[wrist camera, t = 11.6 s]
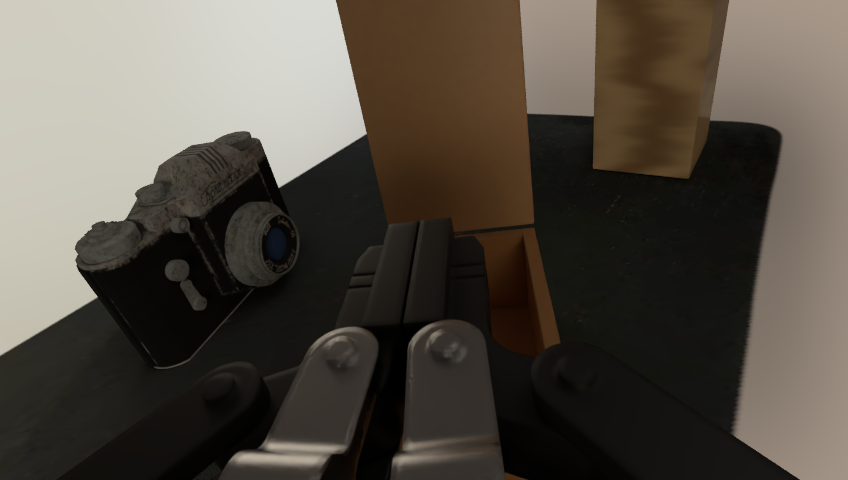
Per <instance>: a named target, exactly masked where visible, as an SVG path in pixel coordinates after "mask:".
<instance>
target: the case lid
mask: <svg viewBox="0 0 848 480" xmlns="http://www.w3.org/2000/svg"><path fill="white" fill-rule="evenodd" d="M336 2H337V7H338V11H339V15H340V19H341V24H342V28H343V32H344V36H345V41H346V45H347V49H348V54H349V58H350V63H351V67H352V71H353V76H354V80H355V84H356V89H357V93H358V97H359V102H360V106H361V110H362V114H363V119H364V123H365V127H366V132H367V136H368V141H369V145H370V149H371V154H372V158H373V162H374V167H375V171H376V175H377V180H378V184H379V188H380V193H381V197H382V201H383V206H384V210H385V214H386V219H387V223H388V226H389V224H395V223H404V222H413V221H421V220H430V219H439V218H448V217H451V219H452V223H453V228H454V232H459V231H468V230H477V229H486V228H496V227H505V226H514V225H523V224H532V223H534V212H533V197H532V182H531V167H530V151H529V136H528V121H527V107H526V92H525V77H524V61H523V46H522V33H521V32H522V31H521V17H520V1H519V0H336Z"/></svg>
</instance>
